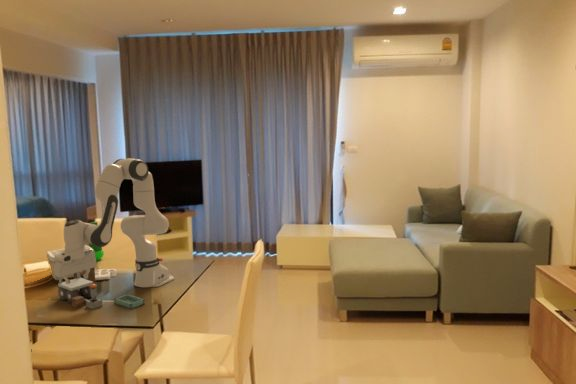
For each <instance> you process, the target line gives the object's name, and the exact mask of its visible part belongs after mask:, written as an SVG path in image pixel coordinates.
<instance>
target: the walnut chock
mask: <svg viewBox="0 0 576 384" xmlns="http://www.w3.org/2000/svg"><path fill="white" fill-rule="evenodd" d="M84 298H85V296H82V295H78V296H76V297H73V298H72V303H71V307H73V308H75V309H79V308H82V307H85V303H84Z"/></svg>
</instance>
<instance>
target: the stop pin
mask: <svg viewBox="0 0 576 384" xmlns="http://www.w3.org/2000/svg"><path fill="white" fill-rule="evenodd" d="M89 287H90V289H91V297H90V299H91V302H95V301H97V298H98V295H97V287H98V283H95V284H90V285H89Z"/></svg>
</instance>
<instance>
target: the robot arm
mask: <svg viewBox="0 0 576 384" xmlns="http://www.w3.org/2000/svg"><path fill="white" fill-rule="evenodd" d="M124 180H131V181H132V184H133V185H132V193H133V205H134V206H135V207H136V208H137V209H139V210H142V211H143V212H144V213H145V214H143V215H141V214H140V215H137V214H134V215H128V216H124V217H123V218H122V220H121V222H120V230H121V231H122V234H124V235H126V236H127V237H128V238H129V239H130V240H131V242H132V243H133V246H134V249H135V278H134V284H133V285H134V286H135V287H139V288H152V287H153V288H155V287H156V288H157V287H160V286H162V285H165V284H167V283H169V282H171V281H173V280H175V277H174V276H173V275H171V274H170V271H169V269H168V267H166V266H165V265H163V264H161V263H162V262H163V260H164V258H162V257H158V256H157V245H156V243H155V242H153V241H152V240H149V239H147V237H146V236H154V235H156V236H157V235H162V234H166V233H167V231H168V230H169V227H170V222H169V219H168V218H167V217H166V216H165V215H164V214H162V213H161V211H159V209H158V207H157V204H156V201H155V200H156V199H155V186H154V185H155V184H154V178H153V174H152V173H151V172H150V171H149V167H148V164H147V163H146V162H145V161H144V160H142V159H139V158H133V157H132V158H130V157H128V158H119V159H116V160H115V161H114V162H113V163H109V164H107V165H105V166H104V168H103V170H102V172H101V174H100V175H99V178H98V179H97V181H96V182H97V183H96V185H95V189H94V194H95V197H96V198H97V200H99V201H100V202H101V204H102V205H103V211H102V215H101V219H100V223H99V224H98V225H95V224H90V223H91V222H84V221H82V220H81V219H70V220H69V221H67V222H66V223H64V224H63V241H64V244H65V245H64V249H65V250H64V251H63V252H61V253H60V254H58V255H56V256H55V260H57V261H56V262H55V265H54V273H55V275H56V276H57V277H63V278H64V279H63V280H65V281H64V282H66V284H69V283H70V280H71V279H70V278H67V277H68V275H70V274H73V273H77V272H80V271H84V270H86V272H85V274H83V275H84V276H83V279H84V278H88V274H89V272H90V268H96V266H97V264H98V263H97V261H96V258H95V251H94V250H92V249H90V250H87V251H85V247H84V246H85V245H86V244H88V245H89V244H93V245H95V246H98V247H102V248H103V247H106V246H107V245H108V244H109V243H111V241H112V237H113V228H114V223H115V219H116V214H117V211H118V206H119V199H118V195H119V191H120V188H121V184H122V182H123V181H124ZM160 262H161V263H160Z"/></svg>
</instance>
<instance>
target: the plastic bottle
mask: <svg viewBox="0 0 576 384" xmlns="http://www.w3.org/2000/svg"><path fill="white" fill-rule="evenodd" d="M89 223H90V224H95V225H99V224H98V223H99V222H98V221H91V222H89ZM88 246H89V247H91V248H92V249H93V250H94V251H95V258H96V262H97V261H100V260H101V259H102V258H103V257H104V255H105V253H104V251H103V247H98V246H95V245H93V244H89V243H88Z"/></svg>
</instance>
